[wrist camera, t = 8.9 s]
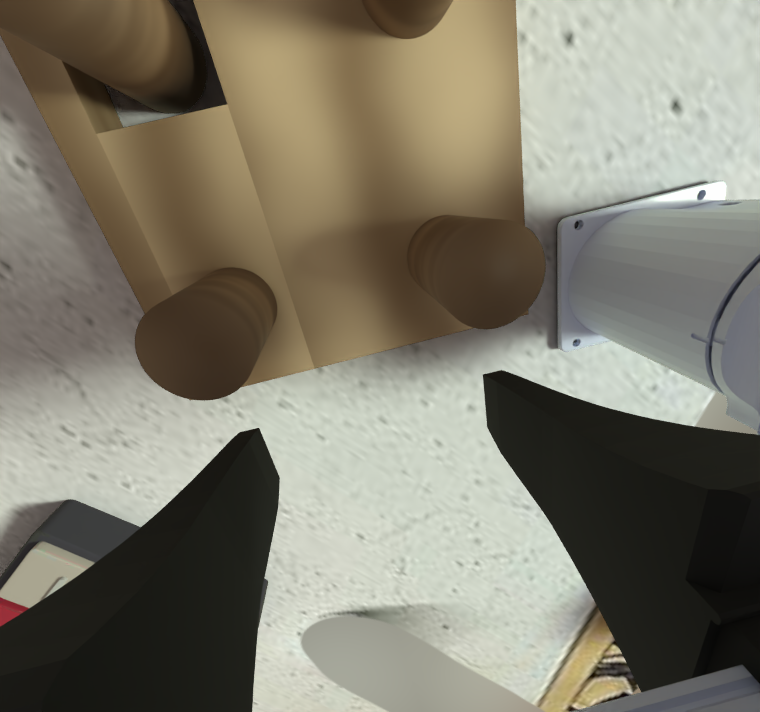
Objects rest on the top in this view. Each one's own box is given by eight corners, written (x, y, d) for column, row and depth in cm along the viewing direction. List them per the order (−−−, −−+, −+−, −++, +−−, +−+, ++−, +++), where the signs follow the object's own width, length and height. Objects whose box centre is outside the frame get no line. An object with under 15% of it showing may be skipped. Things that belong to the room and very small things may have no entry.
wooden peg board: (476, -149, 13) (651, -571, 6) (506, 302, 21) (602, 355, 13) (-1, -50, 13) (-440, -388, 5) (205, 378, 20) (135, 476, 13)
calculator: (22, 541, 19) (258, 639, 24) (79, 485, 23) (271, 578, 28) (-58, 651, 21) (170, 720, 26) (5, 583, 25) (194, 653, 30)
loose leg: (184, -5, 14) (26, -234, 7) (220, 103, 15) (123, 14, 8) (93, 14, 14) (-171, -198, 6) (138, 121, 15) (-35, 47, 8)
